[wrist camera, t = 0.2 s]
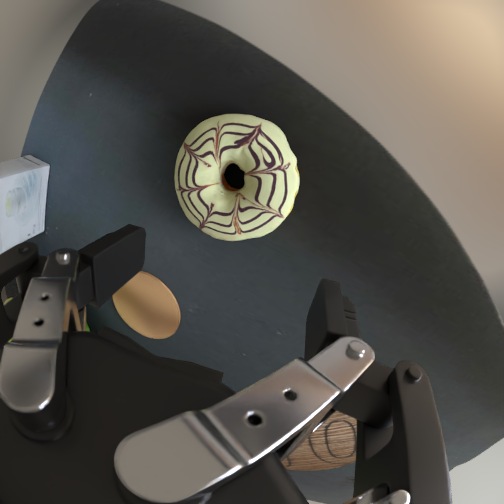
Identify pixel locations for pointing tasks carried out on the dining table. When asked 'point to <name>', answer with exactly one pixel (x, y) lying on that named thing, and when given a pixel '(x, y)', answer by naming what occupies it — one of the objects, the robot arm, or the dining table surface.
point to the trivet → (326, 446)
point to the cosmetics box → (22, 199)
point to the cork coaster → (148, 306)
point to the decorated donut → (256, 177)
